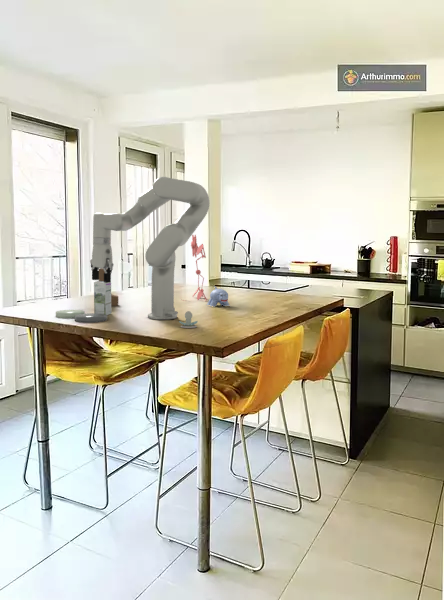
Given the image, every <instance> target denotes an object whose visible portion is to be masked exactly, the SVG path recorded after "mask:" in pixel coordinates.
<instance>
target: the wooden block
mask: <svg viewBox="0 0 444 600" xmlns="http://www.w3.org/2000/svg"><path fill="white" fill-rule="evenodd" d="M106 270H107V269H106ZM98 271H99V280H98V281H104V273H105V272H104V269H103V268H99V269H98ZM118 306H119V296H118V295H117V294H113V293H111V307H118Z"/></svg>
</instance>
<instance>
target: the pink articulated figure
mask: <svg viewBox="0 0 444 600" xmlns="http://www.w3.org/2000/svg"><path fill="white" fill-rule="evenodd" d="M196 235H197V234H192V235H191V236H192V238H191V239H192V241H191V242H190V247H191V250H192V251H191V253H192V254H191V255H192V257H194V258H197V256H198V255H200V254H201V256H200V257H199V258H197V259H196V260H195V265H196V270H195V274H196V275H197V276H198V278H197V279H198V280H197V290H195V292H194V293H193V295H192V298H194V296H196V294H197V298H196V299H197V301H199V300H200V299H201V298H203V297H204V299H205V301H207V297H206V295H205V293H204V289H203V285H204V279H205V277H203V275H201V273H202V272H201V270H200V269H199V268H198V261H199V260H200V259H206V258H207V257H206V251H205V247H204V244H203V243H201V244H200V245H199V246H198V243H197V242H198V241H197V236H196ZM200 277H201V278H202V283H201V286H199V285H200ZM182 301H183V302H184V301H185V302H186V300H184V299H182Z"/></svg>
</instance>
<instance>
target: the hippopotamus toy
mask: <svg viewBox="0 0 444 600" xmlns="http://www.w3.org/2000/svg"><path fill="white" fill-rule="evenodd" d="M213 287H214V289H213V290H212V291H211V292H210V294H209V300H208V301H207V304H206V306H207V305H210V306H211V307H210V308H216V307H215V306H217V305H218V304H221V305H220V306H222V305H223V307H224V306H230V307H231V305H230V303H229V302H228V301H229V293H228V292H227V291H226V290H225V289H224V288H223V289H222V288H218V287H217V286H215V285H213ZM212 306H213V307H212Z"/></svg>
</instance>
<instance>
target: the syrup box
mask: <svg viewBox="0 0 444 600" xmlns="http://www.w3.org/2000/svg"><path fill="white" fill-rule="evenodd" d="M111 294H112V281H111V282H108V283H104V281H99V280H95V282H93V307H94V308H93V309H94V312H93V313H98V314H105V315H107V316H108V315H111V314H112V306H111Z"/></svg>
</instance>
